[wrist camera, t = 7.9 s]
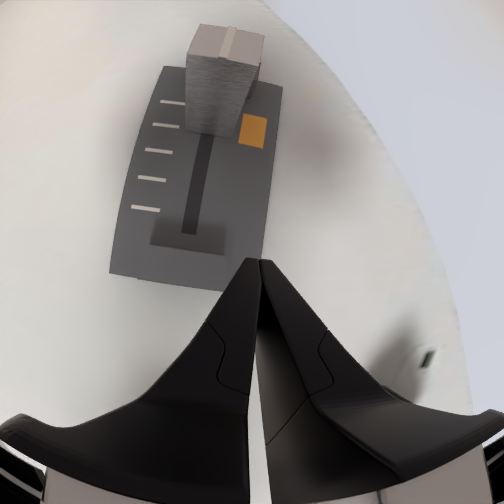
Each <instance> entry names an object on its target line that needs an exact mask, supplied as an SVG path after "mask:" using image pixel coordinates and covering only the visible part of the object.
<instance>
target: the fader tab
mask: <svg viewBox="0 0 504 504" xmlns="http://www.w3.org/2000/svg"><path fill="white" fill-rule="evenodd" d="M264 37H265V36H264V35H260V34H256V33H252V32H247V31H242V30H237V28H235V27H230V26H229V27H228V28H226V27H220V26H213V25H205V24H200V25H199V27H198V29H197V31H196V34H195V36H194V38H193V40H192V43H191V45H190V47H189V49H188V52H187V57H186V85H185V131H191V132H197V133H204V134H210V135H215V136H221V137H226V138H231V137H232V134H233V131H234V128H235V126H236V123H237V120H238V117H239V115H240V112H241V110H242V107H243V104H244V102H245V99H246V97H247V94H248V91H249V89H250V86H251V84H252V81H253V79H254V76H255V74H256V71H257V69H258V67H259V62H260V57H261V52H262V47H263V42H264Z"/></svg>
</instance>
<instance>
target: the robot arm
mask: <svg viewBox="0 0 504 504" xmlns="http://www.w3.org/2000/svg"><path fill="white" fill-rule="evenodd" d="M254 354H255V355H256V365H257V374H258V384H259V393H260V402H261V412H262V421H263V430H264V439H265V446H266V447H265V449H266V458H267V466H268V475H269V484H270V492H271V501H272V504H504V435H503V436H502V437H500V438H499V439H497V440H496V441H494V442H492V443H491V444H489V445H488V446H486V447H484V448H483V447H482V443H483V442H485V441H486V440H488V439H489V438H491V437H492V436H493V435H495V434H497V433H498V432H499V431H501V430H502V429H503V428H504V413H502V412H499V411H496V410H492V409H489V410H487V411H485V412H483V413H481V414H479V415H473V416H465V415H458V414H453V413H448V412H444V411H439V410H435V409H431V408H427V407H422V406H419V405H415V404H411V403H407V402H404V401H401V400H399V399H397V398H396V397H394V396H392V395H391V394H390V393H388V392H387V391H386V390H385V389H384V388H383V387H382V386H381V385H380V384H379V383H378V382H377V381H376V380H375V379H374V378H373V377H372V376H371V375H370V374H369V373H368V372H367V371H366V370H365V369H364V368H363V367H362V366H361V365H360V364H359V363H358V362H357V361H356V360H355V359H354V358H353V357H352V356H351V355H350V354H349V353H348V352H347V351H346V349H345V348H344V347H343V346H342V345H341V344H340V342H339V341H338V340H337V339H336V338H335V336H334V335H333V334H332V333H331V332H330V330H328V328H327V327H326V326H325V324H324V323H323V322H322V321H321V319H320V318H319V317H318V316H317V315H316V313H315V312H314V311H313V310H312V308H311V307H310V306H309V305H308V304H307V302H306V301H305V300H304V299H303V297H302V296H301V295H300V294H299V293H298V291H297V290H296V289H295V288H294V286H293V285H292V284H291V283H290V282H289V280H288V279H287V278H286V277H285V276H284V274H283V273H282V272H281V271H280V269H279V268H278V267H277V266H276V265H275V263H274V262H273V261H272V260H267V259H259V260H258V259H257V258H249V257H246V258H245V259H244V261H243V262H242V264H241V265H240V267H239V268H238V270H237V272H236V273H235V275H234V276H233V278H232V279H231V281H230V282H229V284H228V286H227V287H226V289H225V290H224V292H223V293H222V295H221V296H220V298H219V300H218V301H217V303H216V304H215V306H214V307H213V309H212V311H211V312H210V314H209V315H208V317H207V318H206V320H205V322H204V323H203V324H202V326H201V327H200V329H199V331H198V332H197V333H196V335H195V336H194V338H193V339H192V340H191V342H190V343H189V344H188V346H187V347H186V348H185V349H184V350H183V352H182V353H181V354H180V355H179V356H178V358H177V359H176V360H175V361H174V362H173V363H172V364H171V365H170V366H169V368H168V369H167V370H166V371H165V372H164V373H163V374H162V375H161V376H160V378H159V379H158V380H157V381H156V382H155V383H154V384H153V385H152V386H151V387H150V388H149V389H148V390H147V391H146V392H145V393H144V394H143V395H142V396H140V397H139V398H137V399H136V400H134V401H132V402H130V403H128V404H126V405H124V406H122V407H120V408H117V409H115V410H113V411H111V412H108V413H106V414H104V415H102V416H99V417H97V418H95V419H92V420H90V421H87V422H85V423H83V424H80V425H77V426H73V427H65V428H62V427H54V426H50V425H47V424H45V423H43V422H41V421H39V420H37V419H35V418H32V417H30V416H28V415H25V414H18V415H16V416H14V417H12V418H11V419H9V420H7V421H6V422H4V423H3V424H2V425H1V426H0V439H1V440H2V441H3V442H5V443H6V444H8V445H10V446H11V447H13V448H14V449H16V450H18V451H19V452H21V453H23V454H24V455H26V456H28V457H30V458H31V459H33V460H35V461H37V462H39V463H41V464H43V465H45V466H47V467H46V472H45V475H44V473H43V471H42V470H40V469H38V468H37V467H35V466H33V465H31V464H29V463H28V462H26V461H24V460H22V459H21V458H19V457H17V456H16V455H14V454H13V453H11V452H9V451H8V450H6V449H5V448H3V447H2V446H0V504H250V477H249V448H248V406H249V396H250V388H251V380H252V371H253V363H254Z"/></svg>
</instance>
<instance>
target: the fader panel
mask: <svg viewBox="0 0 504 504" xmlns="http://www.w3.org/2000/svg"><path fill="white" fill-rule="evenodd" d="M260 64H261V63H259V67H258V69H257V71H256V74H255V76H254V79H253V81H252V84H251V86H250V89H249V91H248V94H247V97H246V99H245V102H244V104H243V107H242V110H241V112H240V115H239V117H238V120H237V123H236V126H235V128H234V131H233V134H232V137H231V138H226V137H221V136H215V135H210V134H204V133H197V132H191V131H185V85H186V68H181V67H171V66H164V67H163V69H162V72H161V74H160V76H159V79H158V81H157V84H156V86H155V89H154V91H153V94H152V97H151V99H150V102H149V105H148V108H147V110H146V113H145V116H144V119H143V122H142V125H141V128H140V131H139V134H138V138H137V141H136V144H135V148H134V151H133V155H132V158H131V162H130V166H129V169H128V173H127V177H126V181H125V185H124V190H123V194H122V199H121V203H120V208H119V213H118V218H117V224H116V229H115V235H114V241H113V248H112V255H111V262H110V270H109V273H111V274H116V275H122V276H128V277H134V278H137V279H140V280H146V281H153V282H159V283H165V284H172V285H178V286H185V287H192V288H199V289H207V290H214V291H222V292H224V290H225V289H226V287H227V286H228V284H229V282H230V281H231V279H232V278H233V276H234V275H235V273H236V272H237V270H238V268H239V267H240V265H241V264H242V262H243V261H244V259H245V258H246V257H249V258H257V259H258V260H259V259H261V254H262V247H263V239H264V232H265V224H266V217H267V209H268V202H269V194H270V186H271V178H272V170H273V163H274V155H275V147H276V139H277V130H278V122H279V114H280V106H281V97H282V89H283V87H280V86H277V85H273V84H269V83H265V82H261V81H257V80H258V75H259V69H260Z"/></svg>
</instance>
